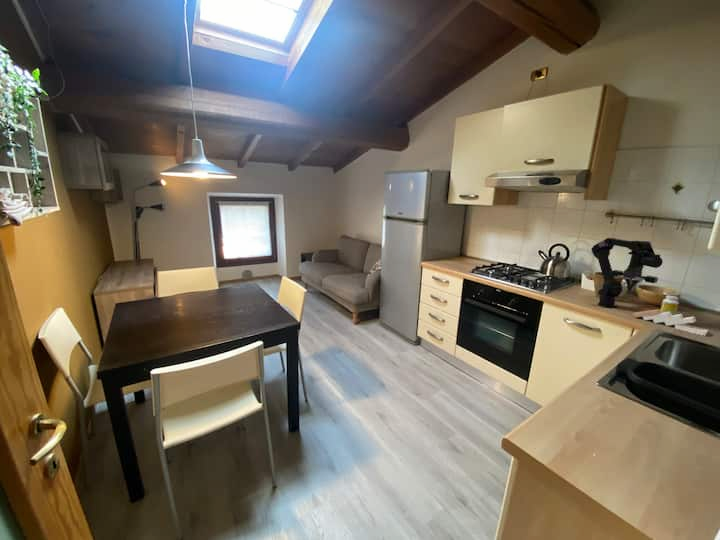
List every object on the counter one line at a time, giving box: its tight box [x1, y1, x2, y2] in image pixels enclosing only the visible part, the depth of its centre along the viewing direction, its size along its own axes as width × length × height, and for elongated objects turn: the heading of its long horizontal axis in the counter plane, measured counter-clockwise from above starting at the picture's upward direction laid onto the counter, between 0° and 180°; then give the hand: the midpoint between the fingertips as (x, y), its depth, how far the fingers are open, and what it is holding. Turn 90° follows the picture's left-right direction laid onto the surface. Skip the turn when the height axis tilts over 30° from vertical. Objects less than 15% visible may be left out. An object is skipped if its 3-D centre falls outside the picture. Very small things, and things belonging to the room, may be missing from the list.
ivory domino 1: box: [642, 312, 672, 321], centre depth 152 cm, size 2×5×10 cm
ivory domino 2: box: [652, 313, 684, 324], centre depth 149 cm, size 2×5×10 cm
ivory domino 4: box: [674, 323, 709, 337], centre depth 142 cm, size 2×5×10 cm
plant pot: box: [593, 271, 624, 299], centre depth 190 cm, size 15×15×16 cm
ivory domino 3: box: [664, 316, 697, 326], centre depth 145 cm, size 2×5×10 cm
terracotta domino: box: [632, 308, 661, 319], centre depth 156 cm, size 2×5×10 cm
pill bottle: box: [659, 294, 680, 315], centre depth 163 cm, size 6×6×11 cm
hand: (629, 291), depth 162 cm, fingers closed
